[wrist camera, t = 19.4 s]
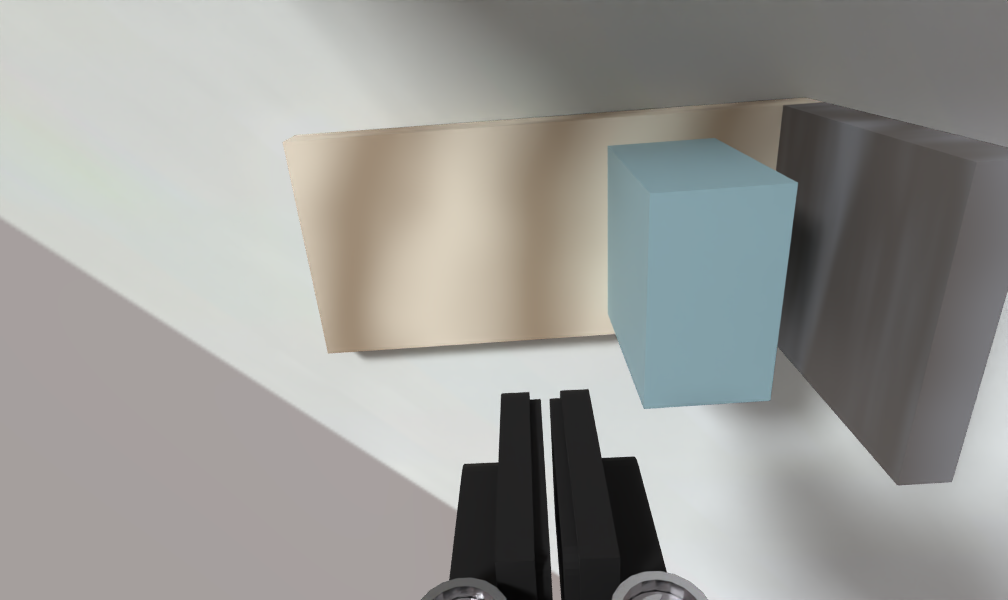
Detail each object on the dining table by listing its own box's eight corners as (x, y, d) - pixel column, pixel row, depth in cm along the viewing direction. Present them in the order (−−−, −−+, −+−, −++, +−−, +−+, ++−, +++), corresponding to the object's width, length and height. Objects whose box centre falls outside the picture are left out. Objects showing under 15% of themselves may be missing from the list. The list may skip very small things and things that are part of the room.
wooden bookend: (805, 97, 24) (1046, 157, 13) (779, 307, 28) (951, 481, 17) (294, 135, 24) (142, 222, 14) (336, 337, 28) (240, 526, 18)
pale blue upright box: (714, 137, 23) (797, 183, 17) (702, 307, 26) (770, 400, 20) (607, 145, 23) (649, 193, 17) (607, 313, 26) (644, 408, 20)
